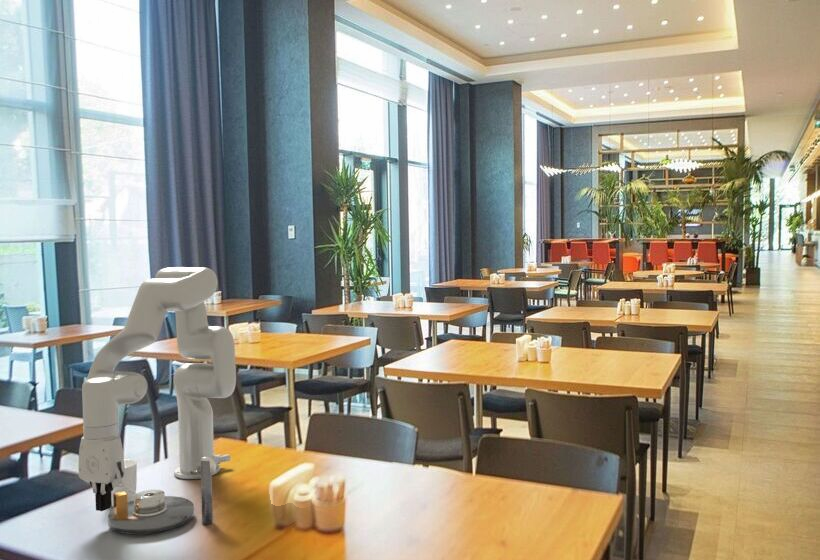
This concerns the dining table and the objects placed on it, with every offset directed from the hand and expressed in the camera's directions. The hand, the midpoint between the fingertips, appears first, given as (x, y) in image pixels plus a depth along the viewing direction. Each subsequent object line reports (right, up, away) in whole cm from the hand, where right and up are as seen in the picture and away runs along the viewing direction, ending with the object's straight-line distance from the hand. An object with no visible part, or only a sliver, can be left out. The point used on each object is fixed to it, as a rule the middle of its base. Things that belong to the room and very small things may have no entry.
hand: (103, 508), depth 167 cm
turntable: (+10, -4, +2) cm, 11 cm away
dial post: (+24, -4, +1) cm, 24 cm away
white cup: (-2, -4, +16) cm, 16 cm away
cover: (+10, -1, +2) cm, 10 cm away
